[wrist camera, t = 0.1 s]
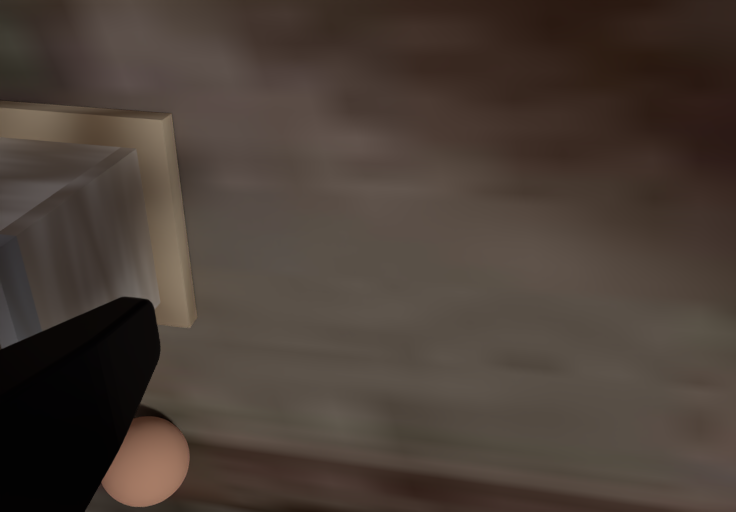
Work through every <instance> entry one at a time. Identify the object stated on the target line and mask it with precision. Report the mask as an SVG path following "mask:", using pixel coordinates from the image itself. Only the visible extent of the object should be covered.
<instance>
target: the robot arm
mask: <svg viewBox="0 0 736 512" xmlns="http://www.w3.org/2000/svg"><path fill="white" fill-rule="evenodd" d="M159 356H160V339H159V333H158V327H157V321H156V315H155V309H154V306H153V304H152V302H151V301H150V300H148V299H144V298H135V297H127V296H125V297H120V298H118V299H115V300H113V301H111V302H108V303H106V304H104V305H101V306H99V307H97V308H95V309H92V310H90V311H88V312H85V313H83V314H81V315H78V316H76V317H74V318H72V319H69V320H67V321H65V322H62V323H60V324H58V325H55V326H53V327H51V328H49V329H46V330H44V331H42V332H39V333H37V334H35V335H32V336H30V337H28V338H26V339H23V340H21V341H19V342H16V343H14V344H12V345H9V346H7V347H5V348H3V349H0V512H85V510H86V508H87V506H88V505H89V503H90V501H91V499H92V498H93V496H94V494H95V492H96V491H97V489H98V487H99V485H100V484H101V482H102V480H103V478H104V477H105V475H106V473H107V471H108V470H109V468H110V466H111V464H112V462H113V461H114V459H115V457H116V455H117V453H118V451H119V449H120V447H121V445H122V443H123V441H124V439H125V437H126V435H127V432H128V430H129V428H130V425H131V423H132V421H133V418H134V416H135V414H136V411H137V409H138V407H139V404H140V402H141V400H142V397H143V395H144V393H145V391H146V388H147V386H148V384H149V381H150V379H151V377H152V374H153V372H154V370H155V367H156V365H157V363H158V360H159Z"/></svg>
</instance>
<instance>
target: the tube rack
mask: <svg viewBox="0 0 736 512" xmlns="http://www.w3.org/2000/svg"><path fill="white" fill-rule="evenodd" d="M125 296H127V297H135V298H144V299H148V300H150V301H151V302H152V304H153V306H154V309H155V315H156V321H157V324H158V325H167V326H175V327H183V328H190V327H191V326H192V325H193V323H194V322H195V320H196V319H197V312H196V304H195V296H194V288H193V280H192V272H191V264H190V256H189V248H188V240H187V232H186V224H185V216H184V208H183V201H182V193H181V185H180V177H179V169H178V161H177V153H176V145H175V137H174V129H173V121H172V114H171V113H158V112H145V111H132V110H118V109H105V108H92V107H79V106H66V105H52V104H39V103H26V102H13V101H0V349H3V348H5V347H7V346H9V345H12V344H14V343H16V342H19V341H21V340H23V339H26V338H28V337H30V336H32V335H35V334H37V333H39V332H42V331H44V330H46V329H49V328H51V327H53V326H55V325H58V324H60V323H62V322H65V321H67V320H69V319H72V318H74V317H76V316H78V315H81V314H83V313H85V312H88V311H90V310H92V309H95V308H97V307H99V306H101V305H104V304H106V303H108V302H111V301H113V300H115V299H118V298H120V297H125Z"/></svg>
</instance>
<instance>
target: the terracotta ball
mask: <svg viewBox="0 0 736 512" xmlns="http://www.w3.org/2000/svg"><path fill="white" fill-rule="evenodd" d="M189 460H190V455H189V448H188V444H187V441H186V439H185V437H184V435H183V434H182V432H181V431H180V430H179V429H178V428H177V427H176V426H175V425H174V424H172V423H171V422H169V421H167V420H165V419H162V418H159V417H154V416H143V417H138V418H134V419H133V421H132V423H131V425H130V428H129V430H128V432H127V435H126V437H125V439H124V441H123V443H122V445H121V447H120V449H119V451H118V453H117V455H116V457H115V459H114V461H113V462H112V464H111V466H110V468H109V470H108V471H107V473H106V475H105V477H104V478H103V480H102V482H101V483H102V485H103V487H104V488H105V490H106V491H107V492H108V494H109V495H110V496H111V497H113V498H114V499H115V500H117V501H118V502H120V503H123V504H125V505H128V506H133V507H146V506H151V505H154V504H157V503H159V502H162V501H163V500H165V499H167V498H168V497H169V496H171V495H172V494H173V493H174V492H175V491H176V490H177V489H178V488H179V486H180V485H181V484H182V482H183V480H184V478H185V476H186V474H187V471H188V467H189Z"/></svg>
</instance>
